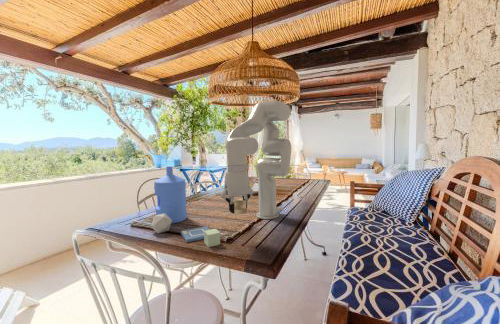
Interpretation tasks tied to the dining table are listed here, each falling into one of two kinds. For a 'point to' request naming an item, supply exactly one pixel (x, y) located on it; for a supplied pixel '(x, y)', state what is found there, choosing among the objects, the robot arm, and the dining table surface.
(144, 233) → the dining table surface
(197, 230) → the board
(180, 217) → the water jug
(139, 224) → the dining table surface
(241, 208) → the pine block
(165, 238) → the dining table surface
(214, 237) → the green block
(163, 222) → the die
